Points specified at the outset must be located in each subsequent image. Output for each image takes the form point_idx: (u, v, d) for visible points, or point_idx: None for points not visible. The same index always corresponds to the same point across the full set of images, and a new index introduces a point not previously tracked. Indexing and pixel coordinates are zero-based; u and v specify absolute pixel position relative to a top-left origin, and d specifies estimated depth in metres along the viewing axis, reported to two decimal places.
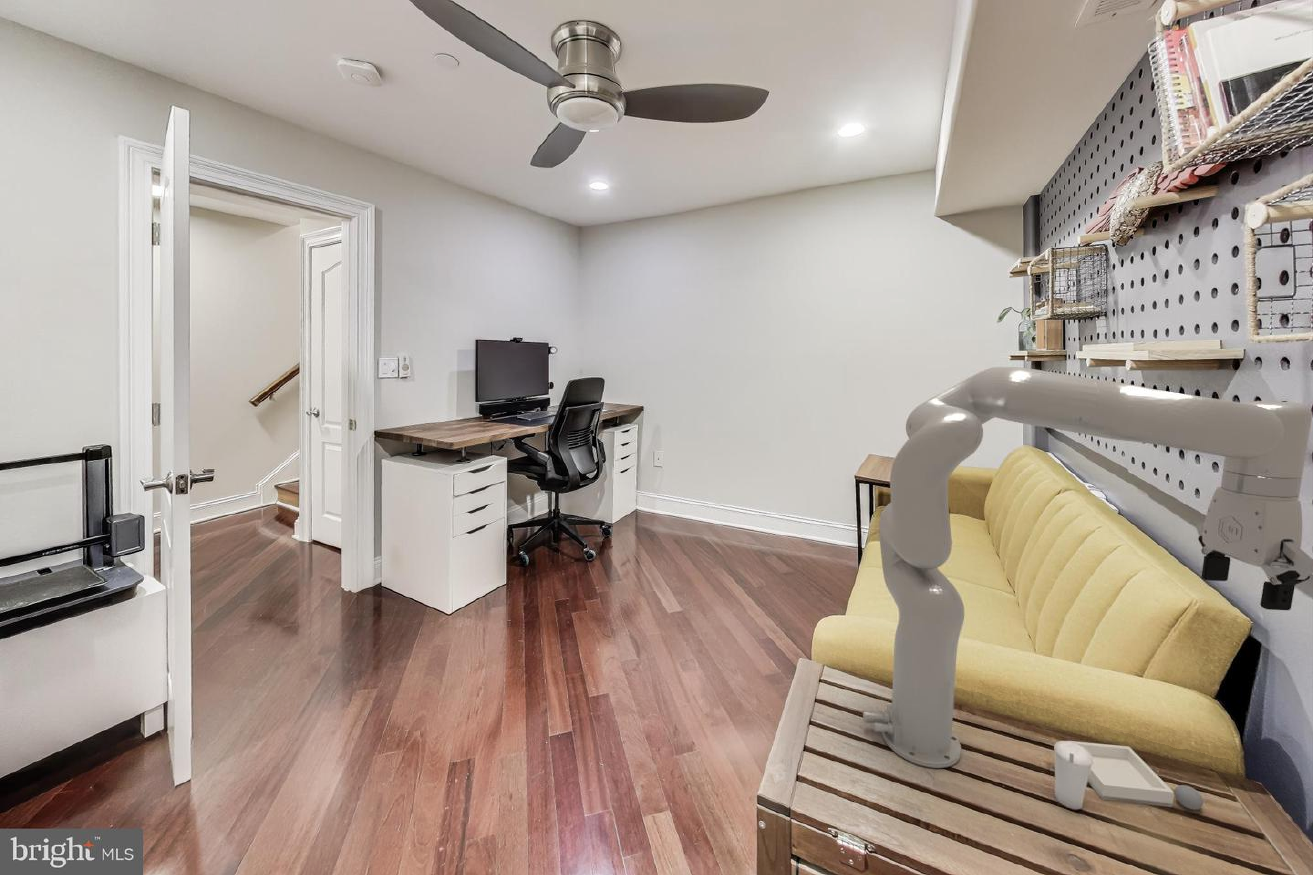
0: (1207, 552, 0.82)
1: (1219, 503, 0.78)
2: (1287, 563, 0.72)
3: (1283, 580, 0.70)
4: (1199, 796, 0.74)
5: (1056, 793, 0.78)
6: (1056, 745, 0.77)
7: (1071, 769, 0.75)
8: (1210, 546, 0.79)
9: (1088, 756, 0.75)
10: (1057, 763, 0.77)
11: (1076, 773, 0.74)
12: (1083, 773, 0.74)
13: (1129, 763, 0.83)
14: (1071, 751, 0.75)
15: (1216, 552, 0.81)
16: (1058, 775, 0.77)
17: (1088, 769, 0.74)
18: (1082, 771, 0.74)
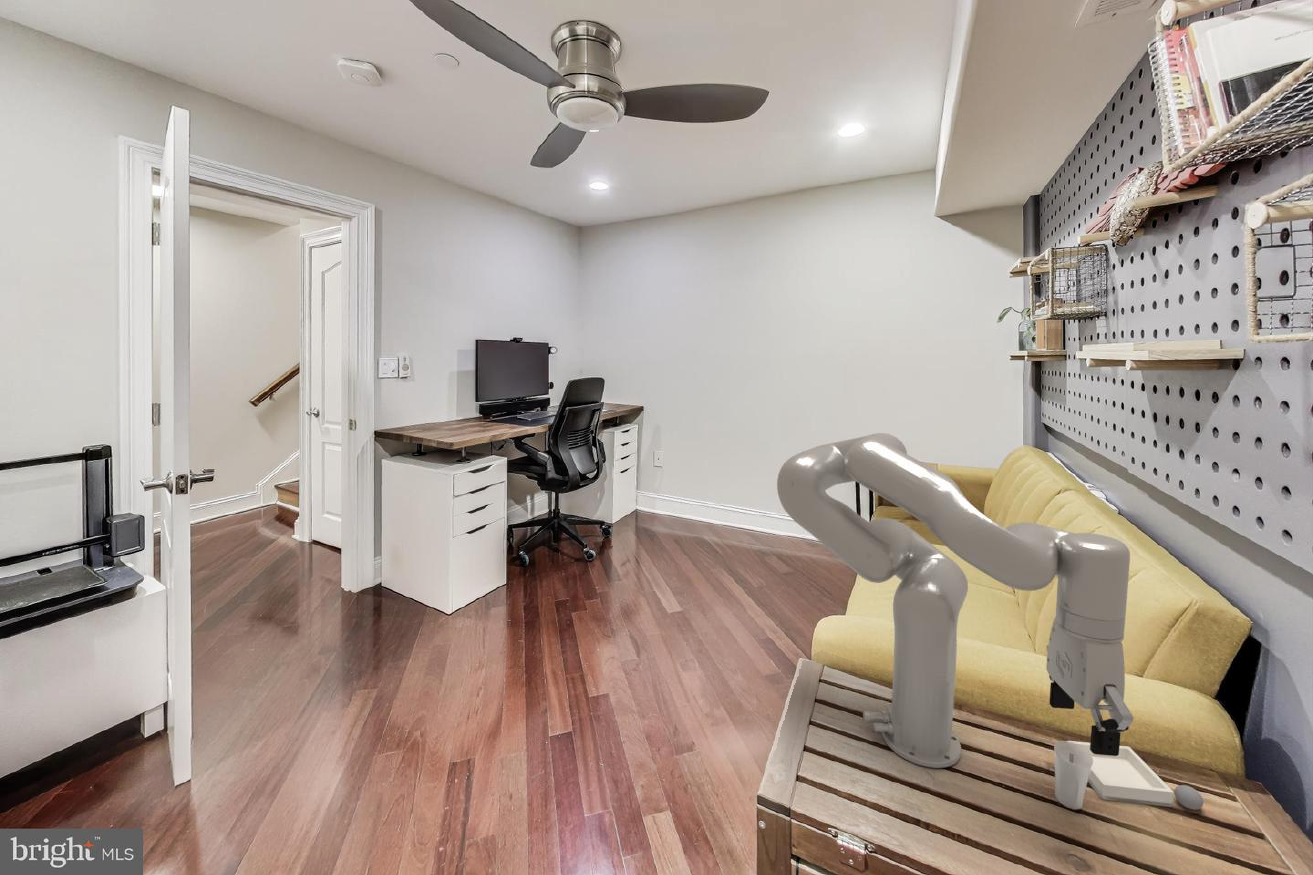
0: (1053, 679, 0.79)
1: (1056, 634, 0.76)
2: None
3: (1106, 727, 0.68)
4: (1199, 796, 0.74)
5: (1056, 793, 0.78)
6: (1056, 745, 0.77)
7: (1071, 769, 0.75)
8: (1051, 676, 0.77)
9: (1088, 756, 0.75)
10: (1057, 763, 0.77)
11: (1076, 773, 0.74)
12: (1083, 773, 0.74)
13: (1129, 763, 0.83)
14: (1071, 751, 0.75)
15: None
16: (1058, 775, 0.77)
17: (1088, 769, 0.74)
18: (1082, 771, 0.74)
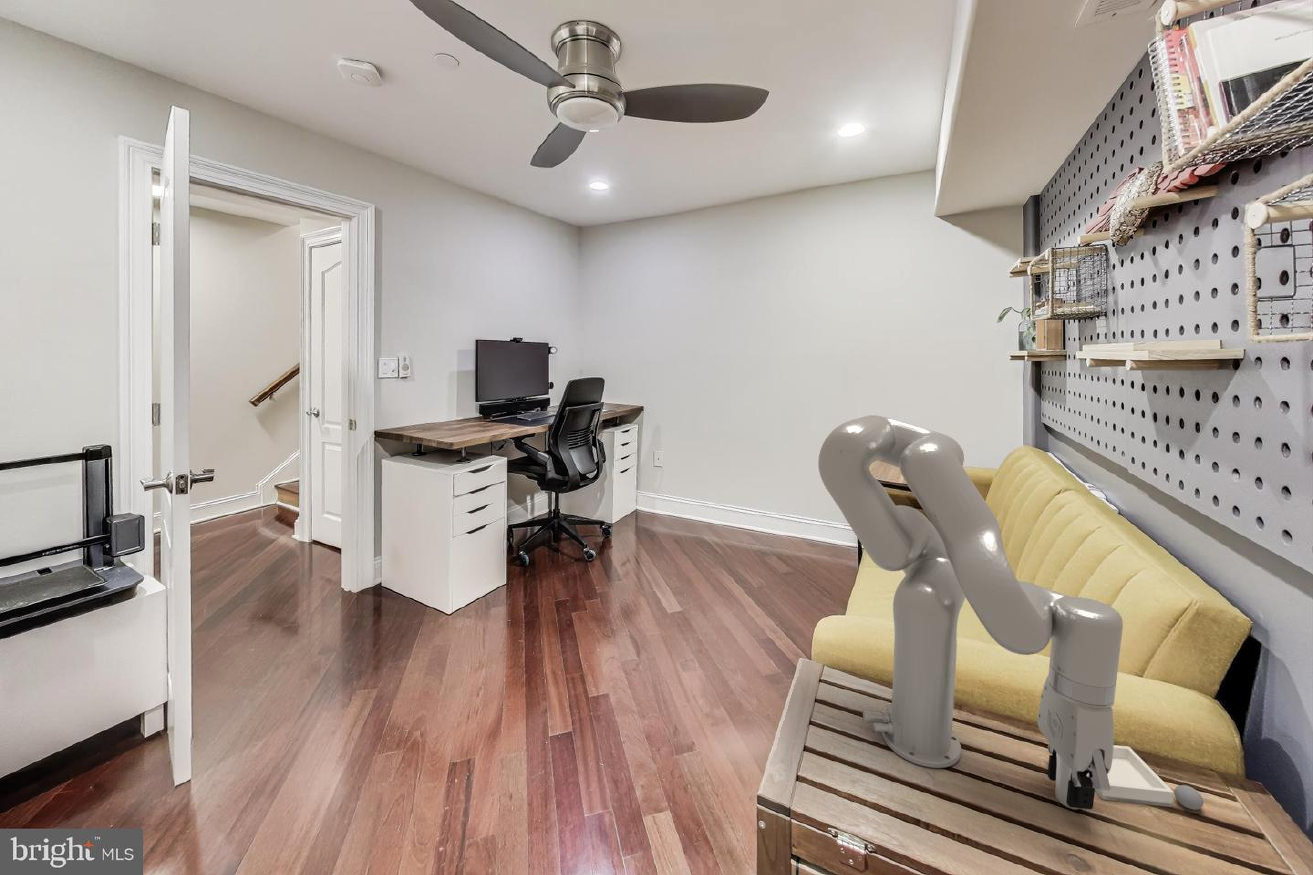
0: (1052, 750, 0.79)
1: (1048, 693, 0.77)
2: None
3: (1082, 783, 0.72)
4: (1199, 796, 0.74)
5: (1056, 793, 0.77)
6: None
7: None
8: (1042, 732, 0.79)
9: None
10: (1059, 764, 0.76)
11: None
12: None
13: (1129, 763, 0.83)
14: None
15: None
16: (1059, 776, 0.76)
17: None
18: (1084, 774, 0.74)
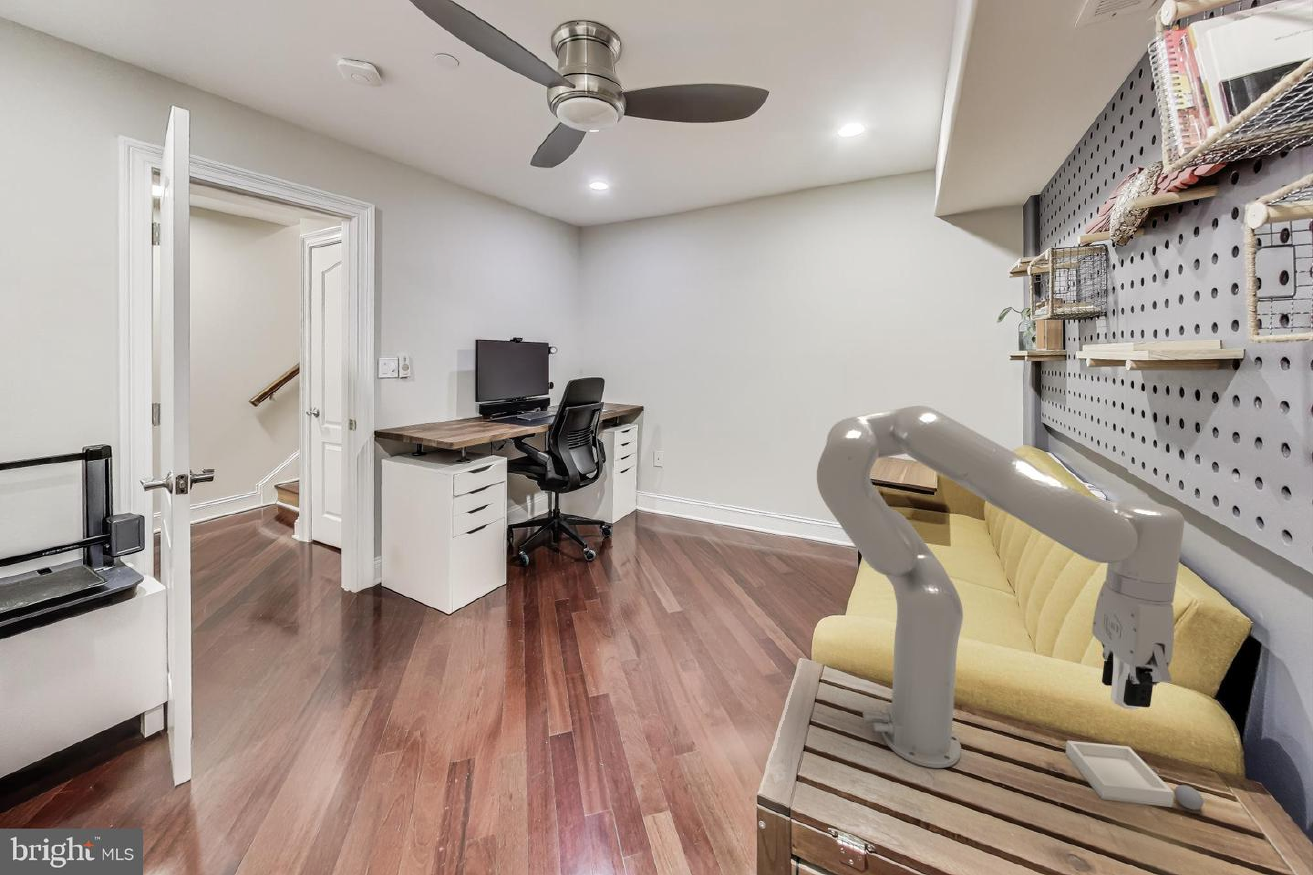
0: (1107, 656, 0.81)
1: (1105, 598, 0.79)
2: None
3: (1140, 680, 0.74)
4: (1199, 796, 0.74)
5: (1112, 695, 0.79)
6: None
7: None
8: (1097, 638, 0.81)
9: None
10: (1116, 666, 0.78)
11: None
12: None
13: (1129, 763, 0.83)
14: None
15: None
16: (1116, 678, 0.78)
17: None
18: (1142, 672, 0.76)
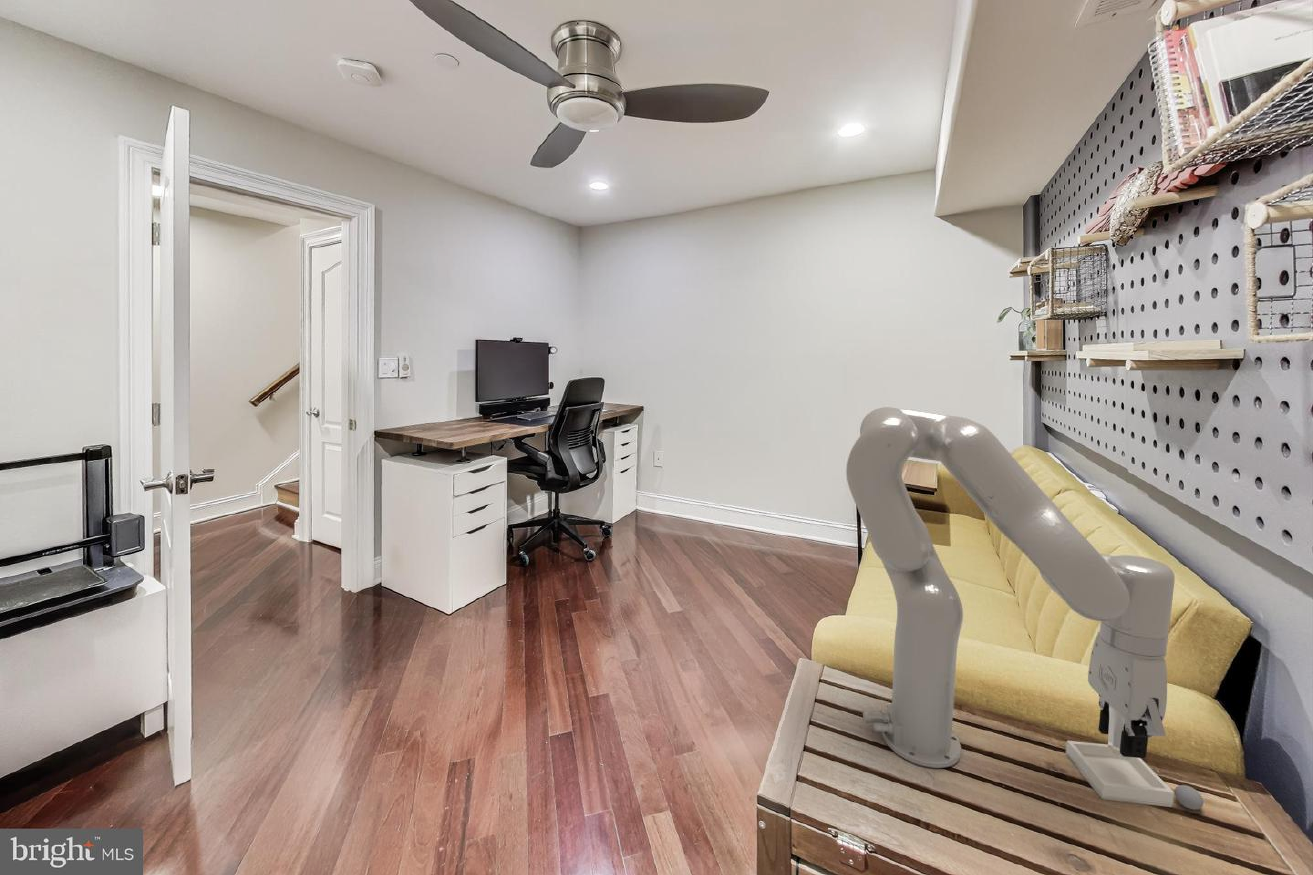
0: (1103, 705, 0.82)
1: (1099, 649, 0.81)
2: None
3: (1135, 732, 0.76)
4: (1199, 796, 0.74)
5: (1109, 745, 0.81)
6: None
7: None
8: (1093, 688, 0.82)
9: None
10: (1112, 716, 0.79)
11: None
12: None
13: (1129, 763, 0.83)
14: None
15: None
16: (1112, 728, 0.80)
17: None
18: (1138, 724, 0.77)
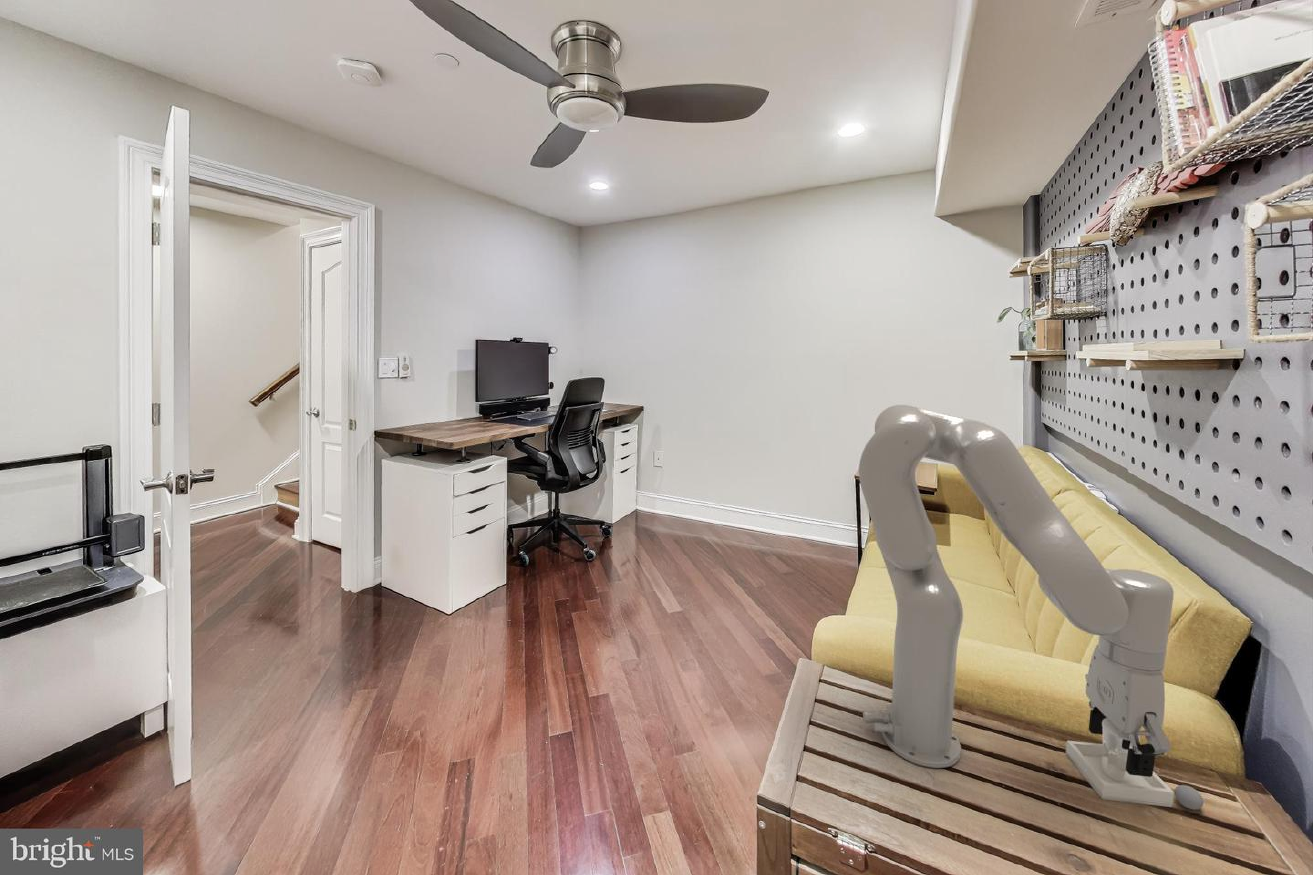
0: (1093, 706, 0.84)
1: (1097, 661, 0.81)
2: None
3: (1143, 751, 0.74)
4: (1199, 796, 0.74)
5: (1104, 767, 0.81)
6: (1104, 721, 0.81)
7: (1120, 743, 0.78)
8: (1091, 700, 0.83)
9: None
10: (1105, 738, 0.80)
11: (1125, 747, 0.78)
12: None
13: None
14: None
15: None
16: (1106, 750, 0.80)
17: None
18: None
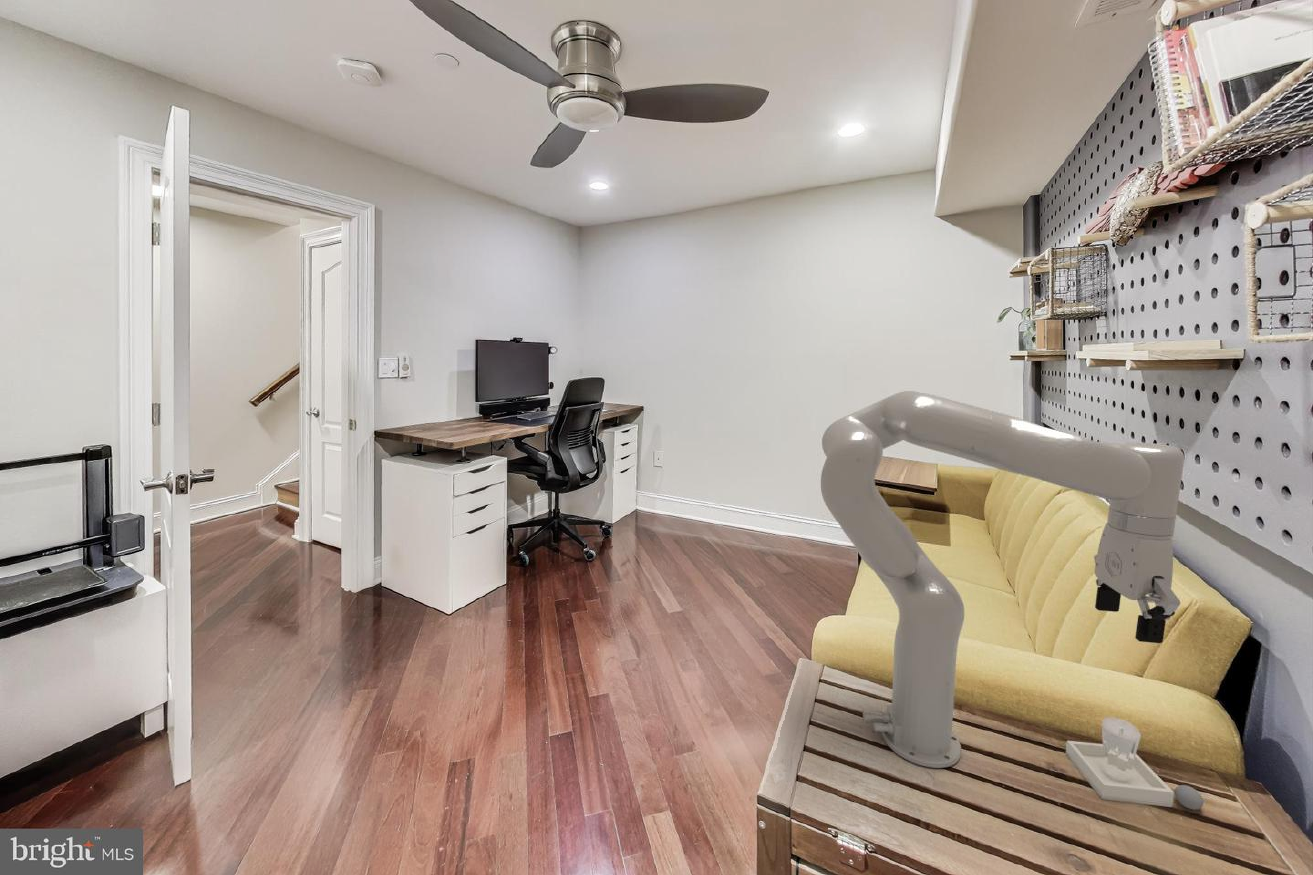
0: (1100, 583, 0.85)
1: (1106, 538, 0.82)
2: (1159, 598, 0.75)
3: (1153, 614, 0.74)
4: (1199, 796, 0.74)
5: (1104, 767, 0.81)
6: (1104, 721, 0.81)
7: (1120, 743, 0.78)
8: (1099, 578, 0.83)
9: (1136, 731, 0.79)
10: (1105, 738, 0.80)
11: (1125, 747, 0.78)
12: (1132, 747, 0.78)
13: None
14: (1119, 726, 0.79)
15: None
16: (1106, 750, 0.80)
17: (1136, 743, 0.78)
18: (1131, 745, 0.78)
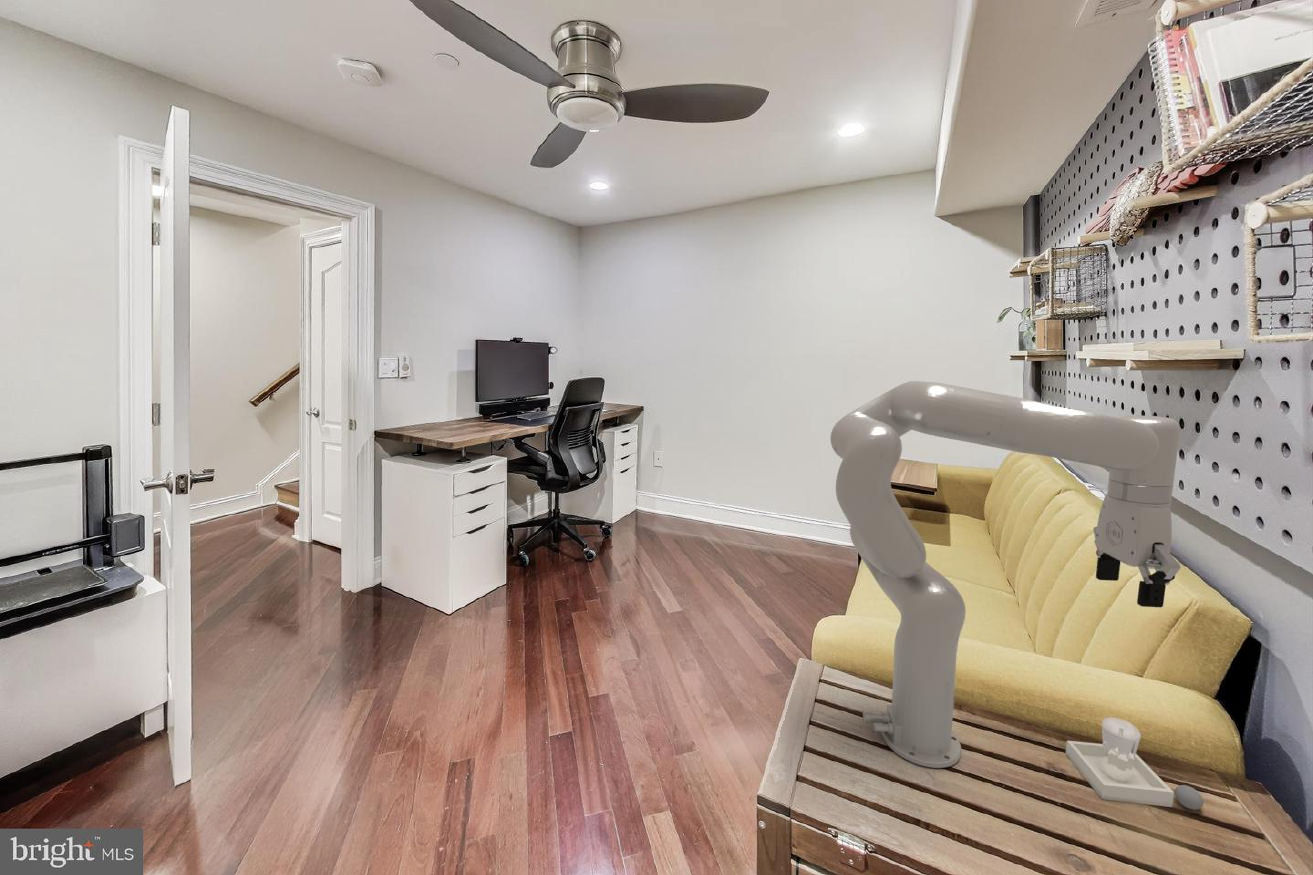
0: (1100, 554, 0.88)
1: (1106, 509, 0.85)
2: (1159, 564, 0.78)
3: (1154, 579, 0.77)
4: (1199, 796, 0.74)
5: (1104, 767, 0.81)
6: (1104, 721, 0.81)
7: (1120, 743, 0.79)
8: (1100, 548, 0.86)
9: (1136, 731, 0.79)
10: (1105, 738, 0.80)
11: (1125, 747, 0.78)
12: (1132, 747, 0.78)
13: None
14: (1119, 726, 0.79)
15: (1108, 554, 0.88)
16: (1106, 750, 0.80)
17: (1136, 743, 0.78)
18: (1131, 745, 0.78)
